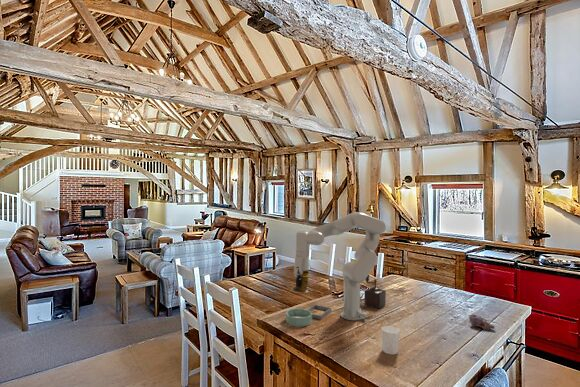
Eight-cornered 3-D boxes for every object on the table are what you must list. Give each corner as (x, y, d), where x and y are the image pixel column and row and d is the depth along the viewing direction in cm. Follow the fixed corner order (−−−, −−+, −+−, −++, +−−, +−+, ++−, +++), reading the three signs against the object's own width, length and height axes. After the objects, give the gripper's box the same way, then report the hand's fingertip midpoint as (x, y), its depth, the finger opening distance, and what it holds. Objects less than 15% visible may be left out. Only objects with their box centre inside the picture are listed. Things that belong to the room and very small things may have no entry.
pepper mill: (386, 304, 209) (387, 276, 209) (378, 308, 201) (379, 280, 201) (365, 298, 220) (365, 272, 220) (356, 302, 212) (357, 275, 212)
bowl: (316, 319, 183) (316, 311, 183) (304, 328, 171) (304, 320, 171) (294, 314, 191) (294, 306, 191) (281, 322, 178) (281, 314, 178)
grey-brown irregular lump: (496, 329, 172) (496, 318, 172) (491, 333, 168) (491, 322, 168) (472, 322, 182) (472, 311, 182) (466, 326, 177) (466, 315, 177)
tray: (331, 311, 196) (331, 307, 196) (320, 319, 183) (320, 316, 183) (314, 307, 202) (314, 304, 202) (303, 315, 189) (303, 312, 189)
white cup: (378, 347, 151) (378, 325, 151) (394, 346, 152) (395, 325, 152) (385, 355, 143) (385, 333, 143) (402, 355, 144) (402, 332, 144)
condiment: (309, 292, 182) (312, 271, 181) (297, 293, 177) (300, 272, 176) (301, 287, 188) (304, 267, 187) (289, 288, 183) (293, 267, 182)
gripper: (303, 250, 192) (303, 280, 192) (288, 255, 177) (288, 287, 177) (315, 252, 188) (314, 282, 188) (300, 256, 173) (300, 290, 173)
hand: (301, 284), depth 182 cm, fingers closed on condiment, 6 cm apart
